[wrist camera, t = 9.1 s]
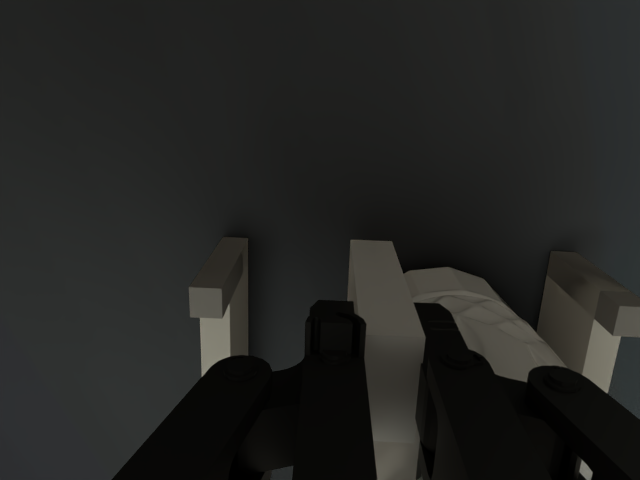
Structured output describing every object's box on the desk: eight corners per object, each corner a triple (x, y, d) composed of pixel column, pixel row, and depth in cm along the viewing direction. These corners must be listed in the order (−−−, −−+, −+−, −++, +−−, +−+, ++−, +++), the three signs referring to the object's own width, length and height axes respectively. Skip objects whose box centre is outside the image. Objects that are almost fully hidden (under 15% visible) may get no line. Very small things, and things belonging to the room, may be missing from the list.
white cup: (560, 287, 21) (761, 496, 12) (471, 432, 24) (577, 694, 15) (378, 224, 20) (443, 403, 11) (307, 386, 23) (308, 640, 13)
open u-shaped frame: (222, 237, 21) (188, 287, 16) (576, 252, 21) (652, 307, 16) (227, 508, 25) (201, 616, 20) (523, 522, 25) (571, 634, 20)
